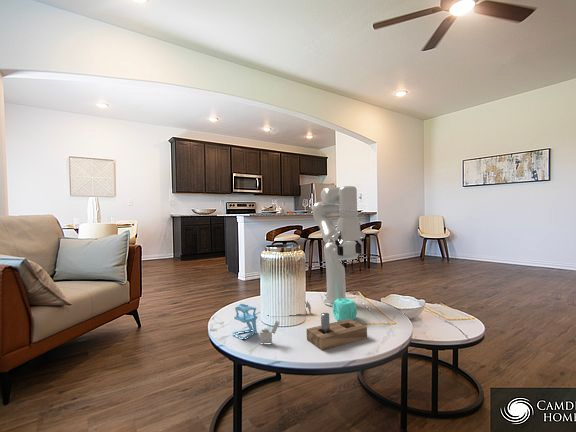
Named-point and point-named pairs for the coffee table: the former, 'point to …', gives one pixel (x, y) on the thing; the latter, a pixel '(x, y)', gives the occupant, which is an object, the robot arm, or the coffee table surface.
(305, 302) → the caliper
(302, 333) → the coffee table surface
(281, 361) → the coffee table surface
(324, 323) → the peg
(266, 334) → the lighter
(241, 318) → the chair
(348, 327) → the hole block
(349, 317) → the decorative dice
